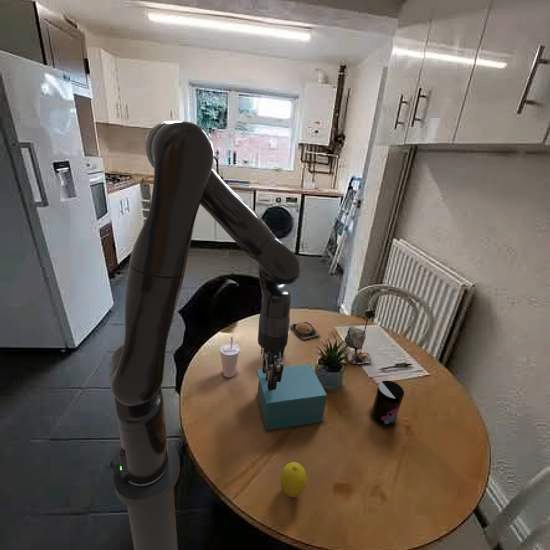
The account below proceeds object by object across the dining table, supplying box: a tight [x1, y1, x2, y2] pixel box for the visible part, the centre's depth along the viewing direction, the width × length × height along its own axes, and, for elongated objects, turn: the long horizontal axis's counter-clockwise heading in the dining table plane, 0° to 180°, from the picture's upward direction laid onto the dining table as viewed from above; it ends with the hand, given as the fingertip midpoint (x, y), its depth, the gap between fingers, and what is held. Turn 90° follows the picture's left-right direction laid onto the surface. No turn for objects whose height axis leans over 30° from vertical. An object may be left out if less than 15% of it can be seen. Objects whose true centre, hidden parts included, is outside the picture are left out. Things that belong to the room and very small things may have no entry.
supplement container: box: [371, 380, 405, 427], centre depth 86 cm, size 7×7×10 cm
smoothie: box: [219, 335, 241, 379], centre depth 97 cm, size 6×6×14 cm
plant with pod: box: [341, 308, 376, 365], centre depth 109 cm, size 8×11×20 cm
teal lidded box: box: [257, 381, 327, 431], centre depth 87 cm, size 16×13×9 cm
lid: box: [256, 363, 328, 405], centre depth 84 cm, size 16×13×6 cm
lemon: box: [279, 461, 308, 498], centre depth 66 cm, size 6×6×8 cm
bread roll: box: [290, 321, 320, 341], centre depth 126 cm, size 11×8×4 cm
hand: (268, 380), depth 83 cm, fingers open, 5 cm apart
